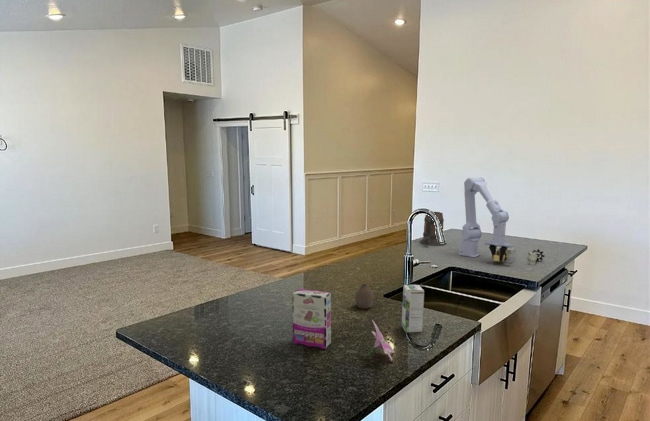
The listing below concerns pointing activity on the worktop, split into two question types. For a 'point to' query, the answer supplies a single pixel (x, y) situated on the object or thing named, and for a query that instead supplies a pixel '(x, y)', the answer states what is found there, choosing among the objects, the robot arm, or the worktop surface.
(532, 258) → the valve
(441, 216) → the tankard
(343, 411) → the worktop surface
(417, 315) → the syrup box
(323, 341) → the candy bar box
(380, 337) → the lily
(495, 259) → the gold rounded block
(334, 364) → the worktop surface
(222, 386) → the worktop surface
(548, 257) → the worktop surface
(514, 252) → the housing
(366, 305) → the vase
